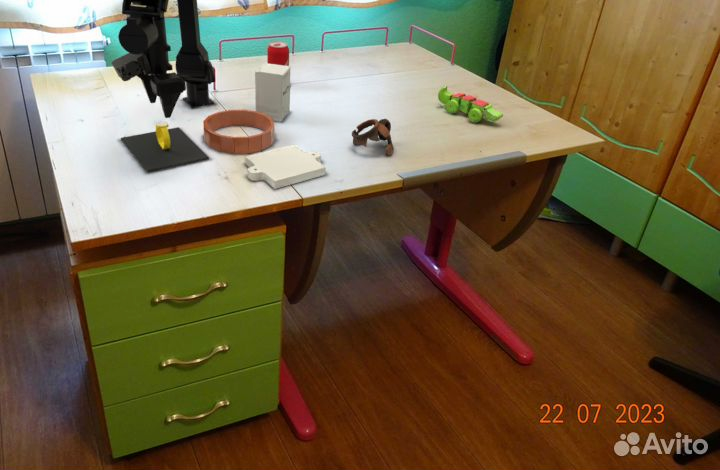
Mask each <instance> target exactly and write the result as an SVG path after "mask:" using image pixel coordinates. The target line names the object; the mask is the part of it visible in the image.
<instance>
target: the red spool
mask: <svg viewBox="0 0 720 470" xmlns="http://www.w3.org/2000/svg"><path fill="white" fill-rule="evenodd" d="M266 50H267V56H266V57H267V58H266V59H267V63H268V64H276V65H283V66H290V48H289V46H288V43H287V42H285V41H281V40H279V41H278V40H276V41H270V42H269V43H268V47H267V49H266Z"/></svg>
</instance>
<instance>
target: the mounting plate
mask: <svg viewBox="0 0 720 470" xmlns="http://www.w3.org/2000/svg"><path fill="white" fill-rule="evenodd" d="M244 157H245V159H244V162H245V165H246V166H247V178H248V179H249V180H250V181H252V182H258V181H265V183H267V184H268V185H269V186H270V187H272V188H273V189H274V190H276V189H279V188H284V187H287V186H290V185H294V184H298V183H301V182H305V181H308V180H312V179H315V178H318V177H319V178H320V177H323V176H325V175H326V168H327V166H325V165H323V163H321V160H322V159H321V158H322V155H321V153H319V152H318V151H314V150H313V151H304V150H303V149H302V148H300V147H299V146H297V145H296V144H291V145H287V146H283V147H279V148H275V149H271V150H266V151H262V152H257V153H253V154H250V155H246V156H244Z"/></svg>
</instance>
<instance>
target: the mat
mask: <svg viewBox="0 0 720 470" xmlns="http://www.w3.org/2000/svg"><path fill="white" fill-rule="evenodd" d="M167 129H168V132H169V136H170V148H169V149H165V150H163V149H162V147H161V146H160V144H159V142H158V139H157V135H156V130H155V131H151V132H145V133H140V134H135V135H128V136H123V137H120V141H121V142H122V143H123V144H124V145H125V147H126V148H127V149H128V150H129V152H130V153H131V154H132V155H133V157H134V158H135V159H136V160H137V161H138V163H139V164H140V166H141V167H142V168H143V170H145V171H146V172H147V174H148V173H152V172H158V171H162V170H166V169H171V168H175V167H180V166H185V165H190V164H194V163H199V162H202V161H203V162H204V161H207V160H209V157H210V156H209V155H207V154H206V153H205V152H204V151H203V150H202V149H201V148H200V147H199V146H198V145H197V144H196V143H195V142H194V141H193V140H192V139H191V138H190V137H189V136H188V135H187V134H186V132H184V131H183V130H182V128H180V127H179V126H177V127H173V128H167Z"/></svg>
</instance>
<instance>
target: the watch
mask: <svg viewBox="0 0 720 470" xmlns="http://www.w3.org/2000/svg"><path fill="white" fill-rule="evenodd" d="M168 129H169V122H168V121H166V120H158V121H155V131H156V135H157V139H158V142H159V144H160V146H161V147H162V149H163V150H165V149H169V148H170V136H169V132H168Z"/></svg>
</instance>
